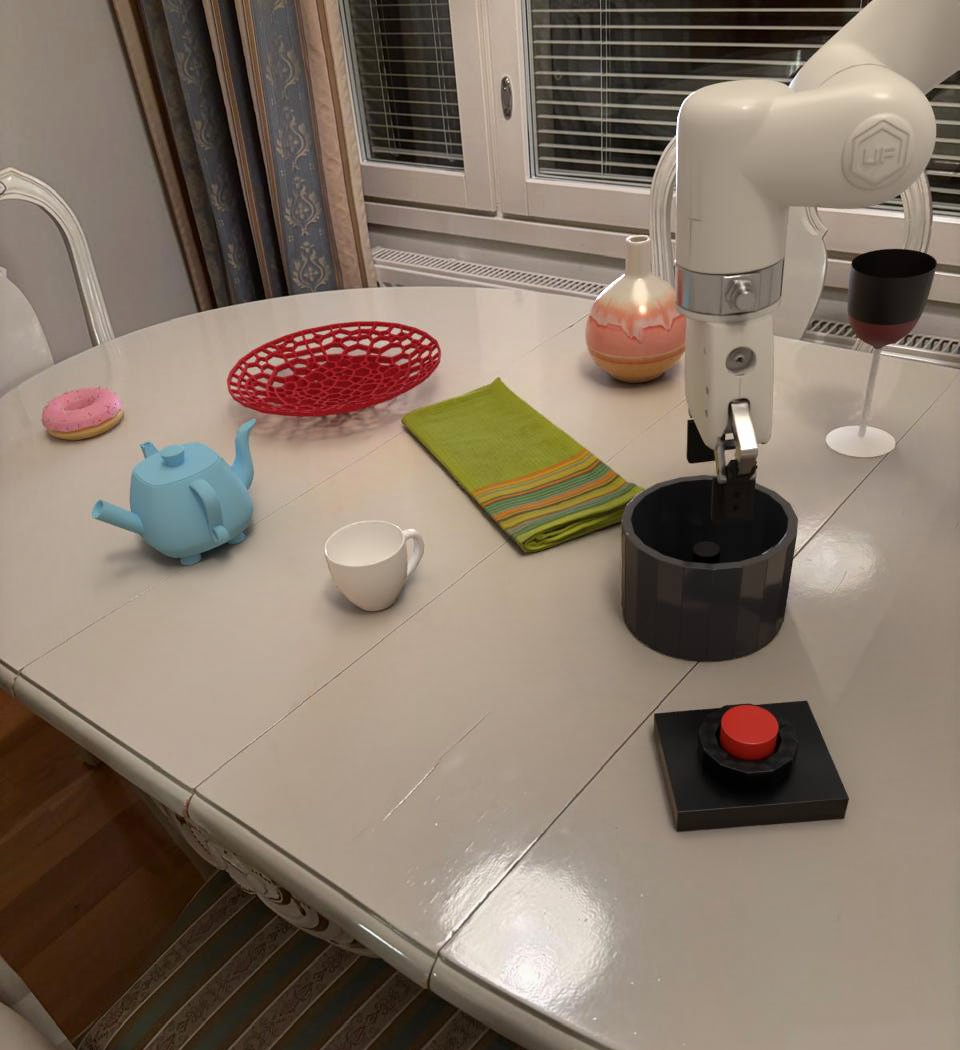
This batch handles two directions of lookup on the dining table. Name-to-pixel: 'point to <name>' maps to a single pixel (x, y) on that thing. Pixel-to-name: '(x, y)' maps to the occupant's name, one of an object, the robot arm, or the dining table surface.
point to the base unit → (747, 771)
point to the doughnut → (82, 413)
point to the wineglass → (882, 327)
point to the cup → (372, 562)
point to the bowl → (334, 371)
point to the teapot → (187, 498)
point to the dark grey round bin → (704, 571)
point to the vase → (636, 321)
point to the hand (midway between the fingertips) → (717, 489)
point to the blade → (706, 553)
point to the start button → (748, 732)
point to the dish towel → (521, 466)
